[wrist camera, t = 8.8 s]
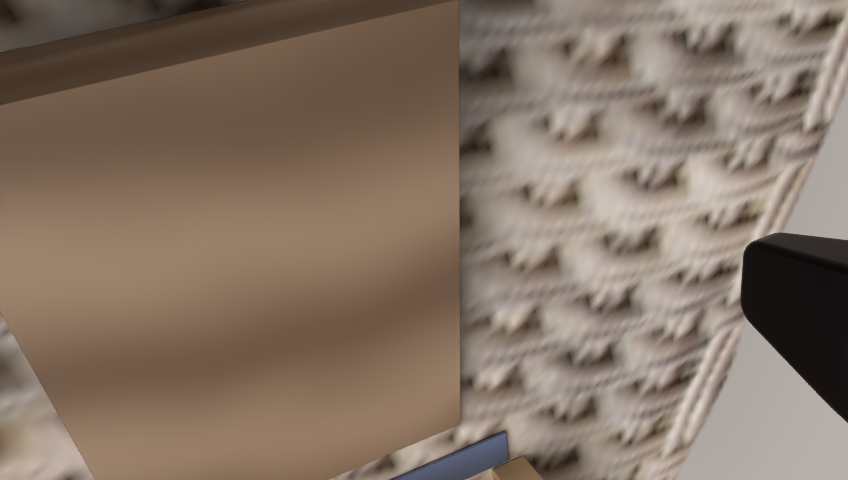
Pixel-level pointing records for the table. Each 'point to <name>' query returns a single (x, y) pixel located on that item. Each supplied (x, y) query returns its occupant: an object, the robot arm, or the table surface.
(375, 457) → the ramp
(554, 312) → the table surface
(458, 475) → the wooden u-shaped bracket
